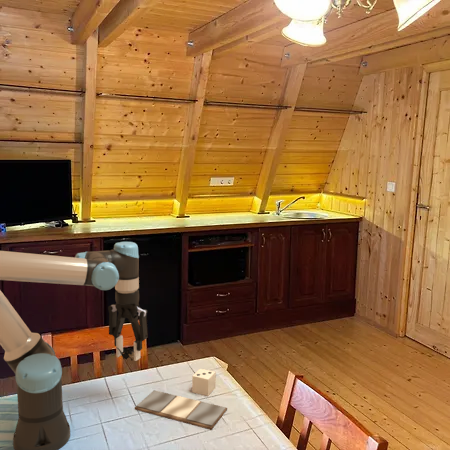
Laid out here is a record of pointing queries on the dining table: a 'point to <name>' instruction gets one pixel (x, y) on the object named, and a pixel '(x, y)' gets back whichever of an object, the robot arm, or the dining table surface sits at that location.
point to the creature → (126, 353)
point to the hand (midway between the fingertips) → (128, 357)
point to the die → (203, 382)
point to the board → (182, 409)
